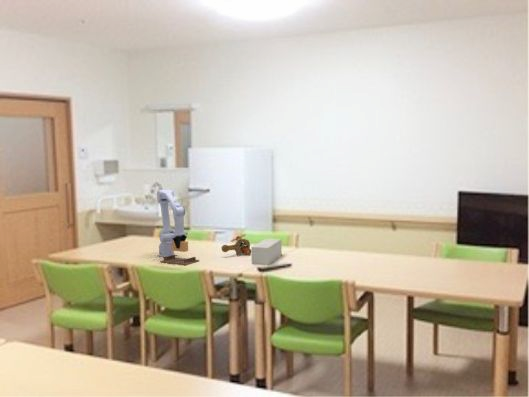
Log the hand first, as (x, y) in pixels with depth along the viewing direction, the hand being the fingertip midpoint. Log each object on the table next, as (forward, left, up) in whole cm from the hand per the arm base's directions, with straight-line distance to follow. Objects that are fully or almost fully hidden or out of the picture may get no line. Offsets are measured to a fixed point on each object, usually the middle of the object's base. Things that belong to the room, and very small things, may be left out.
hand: (179, 247), depth 354 cm
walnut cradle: (0, 0, -9) cm, 9 cm away
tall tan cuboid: (0, 0, -2) cm, 2 cm away
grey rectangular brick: (+45, +31, -9) cm, 56 cm away
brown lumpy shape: (+22, +33, -9) cm, 40 cm away
